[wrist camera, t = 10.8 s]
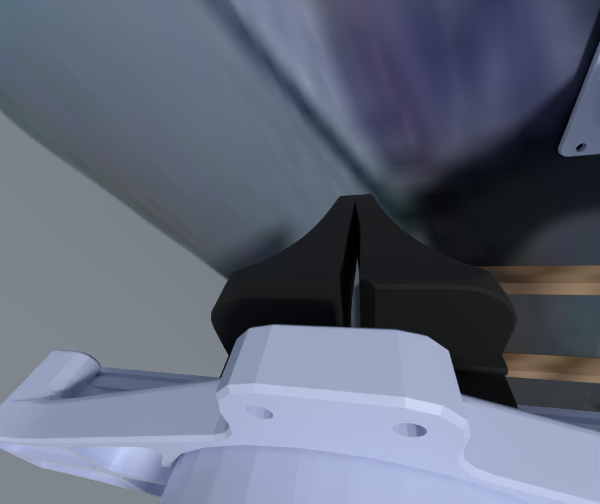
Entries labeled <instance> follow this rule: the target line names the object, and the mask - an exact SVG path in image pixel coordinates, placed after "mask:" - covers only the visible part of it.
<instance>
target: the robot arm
mask: <svg viewBox="0 0 600 504" xmlns="http://www.w3.org/2000/svg"><path fill="white" fill-rule="evenodd" d="M582 143H583V145H582V147H581V148H579V149H578V150H576V147H577V146H578V145H580V144H582ZM558 152H559V154H561V155H563V156H566V157H569V156H581V155H593V154H600V42H599V45H598V47H597V50H596V53H595V55H594V58H593V60H592V63H591V65H590V68H589V70H588V73H587V76H586V78H585V81H584V83H583V86H582V88H581V91H580V93H579V96H578V99H577V101H576V104H575V106H574V109H573V111H572V114H571V116H570V119H569V122H568V124H567V127H566V129H565V132H564V134H563V137H562V139H561V142H560V145H559V147H558ZM357 258H358V266H359V286H360V313H361V328H356V327H351V306H352V295H353V287H354V280H355V272H356V264H357ZM211 321H212V324H213V327H214V329H215V331H216V333H217V335H218V337H219V339H220V340H221V342H222V344H223V346H224V348H225V350H226V351H227V353H228V355H229V356H228V358H227V361H226V363H225V366H224V368H223V371H222V373H221V376H220V378H216V377H206V376H194V375H183V374H173V373H162V372H150V371H138V370H128V369H117V368H106V367H101V365H100V363H99V362H98V361H97V360H96V359H94V358H93V357H92V356H91V355H89V354H87V353H83V352H78V351H65V350H54V351H52V352H51V354H50V355H48V357H47V358H46V359H45V360H44V361H43V362H42V363H41V364H40V365H39V366H38V367H37V368H36V369H35V370H34V371H33V372H32V373H31V374H30V375H29V376H28V377H27V379H25V381H24V382H23V383H22V384H21V385H20V386H19V387H18V388H17V389H16V390H15V391H14V392H13V393H12V394H11V395H10V396H9V397H8V398H7V399H6V400H5V401H4V402H3V404H1V405H0V449H2V450H5V451H7V452H9V453H11V454H13V455H16V456H17V457H20V458H22V459H24V460H26V461H28V462H31V463H32V464H35V465H37V466H39V467H41V468H44V469H49V470H54V471H58V472H63V473H68V474H72V475H76V476H80V477H84V478H88V479H92V480H96V481H100V482H104V483H108V484H111V485H115V486H119V487H123V488H126V489H130V490H134V491H137V492H141V493H145V494H149V495H153V496H156V497H160V498H161V499H160V501H159V504H600V412H591V411H580V410H569V409H558V408H547V407H536V406H525V405H517V404H516V401H515V399H514V397H513V394H512V392H511V390H510V387H509V385H508V382H507V380H506V378H505V376H507V374H508V367H507V365H506V363H505V361H504V358H503V356H502V355H503V352H504V350H505V348H506V346H507V344H508V342H509V340H510V338H511V336H512V334H513V332H514V330H515V326H516V322H517V316H516V312H515V309H514V307H513V305H512V303H511V301H510V300H509V298H508V296H507V294H506V293H505V291H504V290H503V288H502V287H501V285H500V284H499V283H498V281H497V280H496V279H495V277H494V276H493V275H492V273H491V272H490V271H488V270H485V269H482V268H479V267H476V266H473V265H470V264H466V263H463V262H460V261H458V260H455V259H453V258H451V257H448V256H446V255H444V254H441V253H439V252H437V251H435V250H433V249H431V248H430V247H428V246H426V245H424V244H423V243H421V242H419V241H418V240H416V239H414V238H413V237H411V236H410V235H409V234H407V233H406V232H405V231H403V230H402V229H401V228H400V227H399V226H398V225H397V224H396V223H395V222H394V221H393V220H392V219H391V218H390V217H389V216H388V215H387V214H386V213H385V212H384V210H383V209H382V208H381V206H380V205H379V204H378V202H377V201H376V199H375V197H374V196H373V195H372V194H365V195H349V196H340V197H339V198H338V199H337V201H336V202H335V204H334V205H333V206H332V208H331V209H330V210H329V211H328V213H327V214H326V215H325V216H324V217H323V219H322V220H321V221H320V222H319V223H318V224H317V225H316V226H315V227H314V228H313V229H312V230H311V231H310V232H309V233H307V234H306V235H305V236H304V237H302V238H301V239H300V240H298V241H297V242H296V243H294V244H293V245H291V246H289V247H288V248H286V249H285V250H283V251H281V252H280V253H278V254H276V255H274V256H272V257H270V258H268V259H266V260H264V261H262V262H259V263H257V264H255V265H252V266H249V267H247V268H244V269H241V270H239V271H236V272H233V273H232V275H231V276H230V278H229V280H228V281H227V283H226V285H225V287H224V289H223V291H222V293H221V295H220V297H219V298H218V300H217V302H216V304H215V306H214V308H213V310H212V312H211Z"/></svg>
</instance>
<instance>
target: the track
mask: <svg viewBox="0 0 600 504" xmlns="http://www.w3.org/2000/svg"><path fill="white" fill-rule="evenodd" d="M476 267H479V268H482V269H485V270H488V271H490V272H491V273H492V275H493V276H494V277H495V279H496V280H497V281H498V283H499V284H500V285H501V287H502V288H503V290H504V291H505V293H506V294H561V295H600V266H476ZM502 356H503V358H504V361H505V363H506V365H507V367H508V374H507V377H521V378H535V379H549V380H563V381H577V382H591V383H600V358H591V357H573V356H554V355H536V354H518V353H503V355H502Z"/></svg>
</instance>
